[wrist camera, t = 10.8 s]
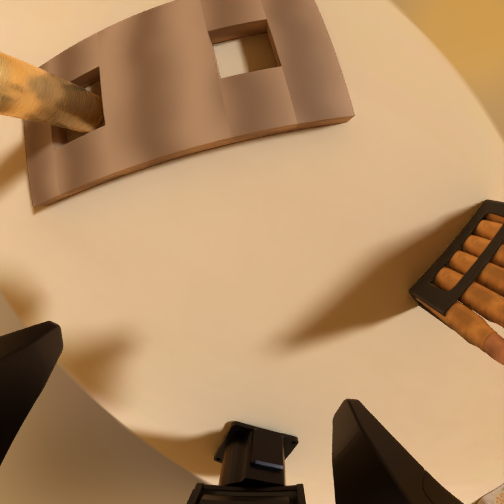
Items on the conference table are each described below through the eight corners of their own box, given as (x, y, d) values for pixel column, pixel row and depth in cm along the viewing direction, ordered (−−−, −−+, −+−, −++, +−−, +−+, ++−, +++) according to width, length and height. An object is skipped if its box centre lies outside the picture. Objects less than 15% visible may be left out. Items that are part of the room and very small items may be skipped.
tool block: (301, -10, 16) (303, -24, 14) (346, 122, 18) (354, 115, 16) (37, 82, 18) (24, 78, 16) (48, 205, 20) (33, 206, 18)
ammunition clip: (486, 198, 18) (597, 215, 7) (495, 215, 19) (601, 240, 7) (407, 291, 20) (504, 373, 9) (419, 306, 20) (510, 390, 9)
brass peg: (104, 128, 19) (-72, 86, 4) (72, 136, 19) (-94, 113, 4) (106, 90, 18) (-49, 19, 3) (75, 99, 18) (-77, 52, 3)
